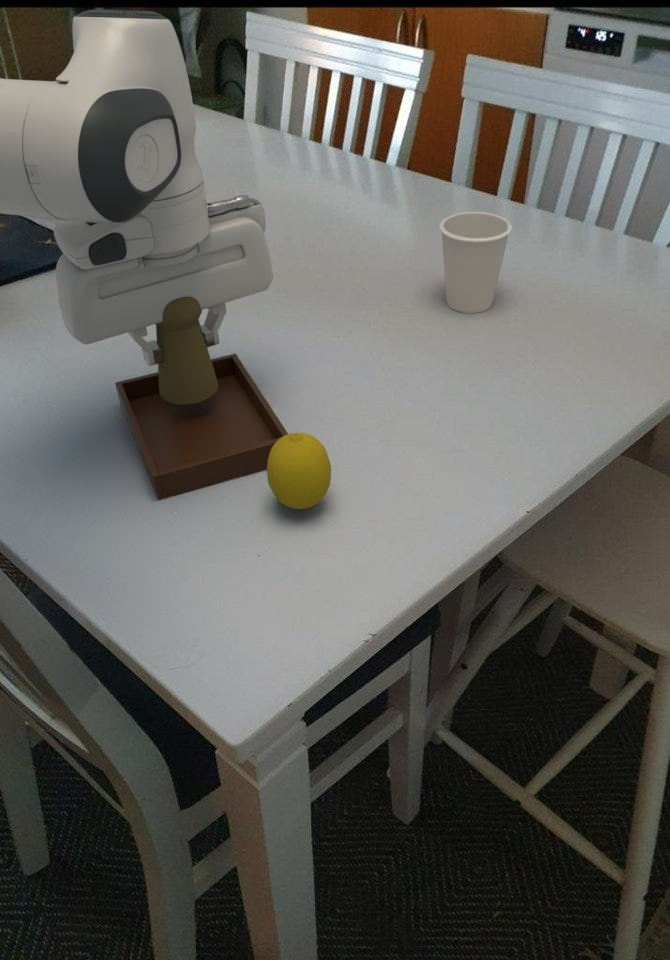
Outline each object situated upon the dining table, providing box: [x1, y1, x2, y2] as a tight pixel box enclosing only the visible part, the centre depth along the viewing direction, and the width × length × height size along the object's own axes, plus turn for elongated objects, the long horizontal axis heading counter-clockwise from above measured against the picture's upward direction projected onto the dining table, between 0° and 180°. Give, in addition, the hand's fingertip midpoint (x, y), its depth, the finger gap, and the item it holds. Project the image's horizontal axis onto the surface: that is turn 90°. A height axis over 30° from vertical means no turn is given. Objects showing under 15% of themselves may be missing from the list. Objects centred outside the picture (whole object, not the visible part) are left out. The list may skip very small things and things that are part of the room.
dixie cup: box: [439, 211, 513, 314], centre depth 98 cm, size 8×8×10 cm
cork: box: [154, 296, 218, 404], centre depth 79 cm, size 6×6×11 cm
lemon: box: [266, 431, 332, 510], centre depth 70 cm, size 6×6×8 cm
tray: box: [114, 353, 289, 501], centre depth 81 cm, size 13×17×3 cm
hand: (182, 352), depth 80 cm, fingers closed on cork, 4 cm apart
